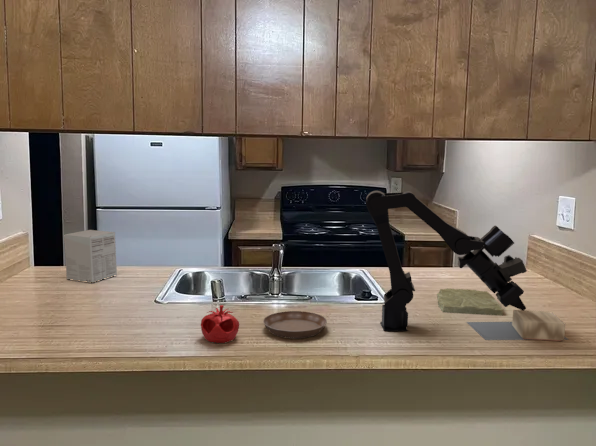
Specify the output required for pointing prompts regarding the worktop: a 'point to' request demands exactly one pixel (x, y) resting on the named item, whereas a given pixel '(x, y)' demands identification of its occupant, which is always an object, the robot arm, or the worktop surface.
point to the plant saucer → (294, 324)
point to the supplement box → (90, 255)
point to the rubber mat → (497, 331)
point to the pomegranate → (219, 326)
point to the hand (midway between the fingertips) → (524, 309)
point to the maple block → (538, 325)
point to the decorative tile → (468, 302)
